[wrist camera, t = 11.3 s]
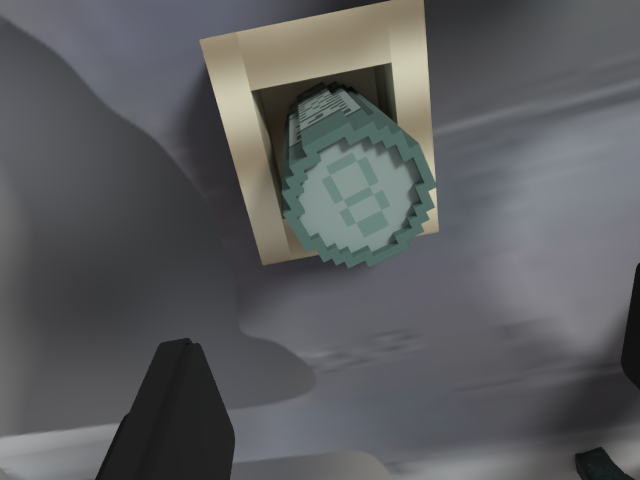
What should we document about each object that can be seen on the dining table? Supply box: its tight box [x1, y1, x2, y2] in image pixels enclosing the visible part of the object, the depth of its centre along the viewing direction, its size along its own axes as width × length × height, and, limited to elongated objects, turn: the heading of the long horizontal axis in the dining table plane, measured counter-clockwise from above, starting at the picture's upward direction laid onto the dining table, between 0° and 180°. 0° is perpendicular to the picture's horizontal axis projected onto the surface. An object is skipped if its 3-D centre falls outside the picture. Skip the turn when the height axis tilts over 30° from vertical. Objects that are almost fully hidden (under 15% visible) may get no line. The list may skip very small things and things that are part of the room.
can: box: [282, 81, 437, 269], centre depth 24 cm, size 6×6×15 cm
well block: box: [200, 0, 439, 265], centre depth 29 cm, size 14×12×7 cm
